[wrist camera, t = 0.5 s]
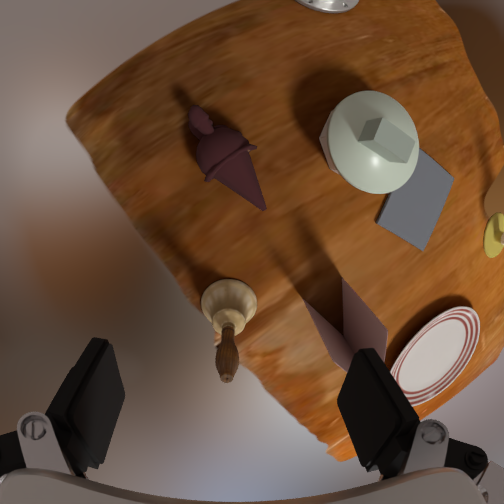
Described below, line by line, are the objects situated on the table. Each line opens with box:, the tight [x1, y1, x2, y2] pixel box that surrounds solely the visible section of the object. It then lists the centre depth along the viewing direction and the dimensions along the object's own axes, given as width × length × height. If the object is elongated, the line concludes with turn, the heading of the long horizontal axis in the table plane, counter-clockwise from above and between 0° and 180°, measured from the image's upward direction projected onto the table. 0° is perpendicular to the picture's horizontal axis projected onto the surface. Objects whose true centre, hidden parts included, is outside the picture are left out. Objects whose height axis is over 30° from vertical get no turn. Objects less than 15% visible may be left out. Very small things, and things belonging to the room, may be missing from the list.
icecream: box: [188, 105, 267, 211], centre depth 32 cm, size 7×7×15 cm
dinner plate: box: [390, 306, 480, 406], centre depth 48 cm, size 27×27×3 cm
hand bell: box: [201, 279, 257, 383], centre depth 34 cm, size 8×8×16 cm
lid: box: [326, 91, 419, 194], centre depth 28 cm, size 13×13×5 cm
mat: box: [376, 148, 454, 251], centre depth 38 cm, size 14×11×1 cm
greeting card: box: [302, 278, 388, 372], centre depth 36 cm, size 11×7×15 cm, turn 10°
